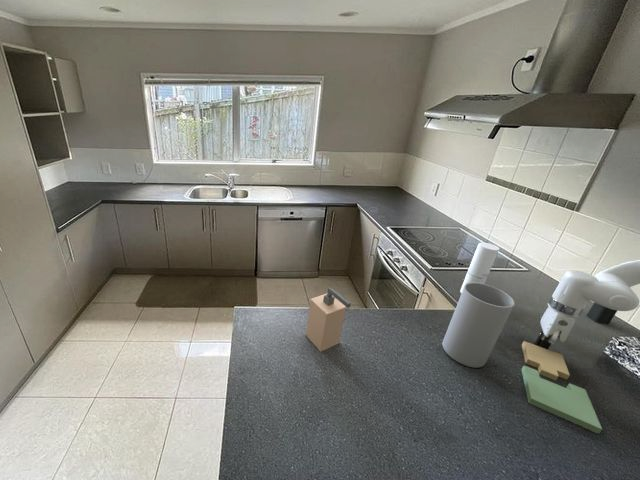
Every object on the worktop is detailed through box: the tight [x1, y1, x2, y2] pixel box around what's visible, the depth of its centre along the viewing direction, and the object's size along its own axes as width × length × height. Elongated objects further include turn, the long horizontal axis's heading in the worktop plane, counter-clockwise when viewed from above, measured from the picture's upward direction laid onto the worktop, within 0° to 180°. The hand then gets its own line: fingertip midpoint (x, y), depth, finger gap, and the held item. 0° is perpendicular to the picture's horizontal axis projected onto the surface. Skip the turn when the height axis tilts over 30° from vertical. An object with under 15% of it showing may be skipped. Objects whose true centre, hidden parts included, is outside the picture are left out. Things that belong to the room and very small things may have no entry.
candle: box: [586, 302, 618, 325], centre depth 111 cm, size 5×5×25 cm
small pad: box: [521, 340, 571, 381], centre depth 93 cm, size 10×13×2 cm
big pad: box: [521, 365, 603, 435], centre depth 82 cm, size 14×14×2 cm
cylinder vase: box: [442, 283, 516, 368], centre depth 92 cm, size 12×12×25 cm
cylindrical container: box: [459, 241, 500, 295], centre depth 124 cm, size 7×7×25 cm
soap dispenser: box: [305, 287, 352, 353], centre depth 94 cm, size 13×9×22 cm
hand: (540, 347), depth 100 cm, fingers closed
